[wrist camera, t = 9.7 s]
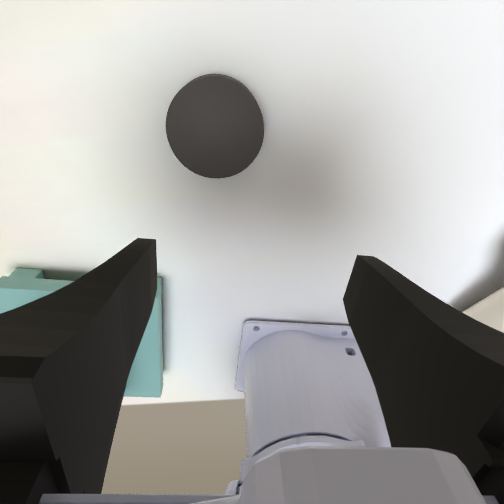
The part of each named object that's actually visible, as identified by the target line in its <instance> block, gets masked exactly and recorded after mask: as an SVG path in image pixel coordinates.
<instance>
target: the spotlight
mask: <svg viewBox="0 0 504 504" xmlns="http://www.w3.org/2000/svg"><path fill="white" fill-rule="evenodd" d="M462 313H464V314H466V315H468V316H470V317H472V318H473V319H475V320H477V321H479V322H481V323H483V324H486V325H488V326H490V327H492V328H494V329H496V330H499V331H501V332H503V333H504V287H503V288H501V289H499V290H498V291H496V292H494V293H493V294H491V295H489V296H488V297H486V298H484V299H483V300H481V301H479V302H478V303H476V304H474V305H473V306H471V307H469V308H468V309H466V310H464V311H463V312H462Z"/></svg>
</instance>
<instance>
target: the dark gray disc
mask: <svg viewBox="0 0 504 504" xmlns="http://www.w3.org/2000/svg"><path fill="white" fill-rule="evenodd" d="M166 133H167V138H168V141H169V144H170V147H171V149H172V151H173V153H174V154H175V156H176V157H177V158H178V160H179V161H180V162H181V163H182V164H183V165H184V166H185V167H187V168H188V169H189V170H191V171H193V172H194V173H196V174H199V175H201V176H204V177H209V178H226V177H230V176H233V175H236V174H238V173H240V172H241V171H243V170H244V169H246V168H247V167H248V166H249V165H250V164H251V163H252V162H253V161H254V159H255V158H256V156H257V155H258V153H259V150H260V148H261V145H262V142H263V136H264V123H263V118H262V114H261V111H260V109H259V106H258V104H257V102H256V100H255V98H254V96H253V95H252V93H251V92H250V91H249V90H248V89H247V88H246V87H245V86H244V85H243V84H242V83H240V82H239V81H237V80H235V79H233V78H231V77H228V76H225V75H220V74H209V75H204V76H200V77H198V78H196V79H194V80H192V81H191V82H189V83H188V84H187V85H185V86H184V87H183V88H182V89H181V90H180V91H179V92H178V93H177V94H176V96H175V97H174V98H173V100H172V102H171V104H170V106H169V109H168V112H167V118H166Z"/></svg>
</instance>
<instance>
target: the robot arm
mask: <svg viewBox="0 0 504 504" xmlns="http://www.w3.org/2000/svg"><path fill="white" fill-rule="evenodd" d="M156 291H157V258H156V240H155V239H142V238H137V239H136V240H134V241H133V242H132V243H130V244H129V245H128V246H126V247H125V248H124V249H122V250H121V251H120V252H118V253H117V254H115V255H114V256H113V257H111V258H110V259H108V260H107V261H106V262H104V263H103V264H101V265H100V266H98V267H97V268H95V269H93V270H92V271H90V272H89V273H87V274H86V275H84V276H82V277H81V278H79V279H77V280H76V281H74V282H72V283H70V284H68V285H66V286H64V287H62V288H60V289H58V290H56V291H55V292H53V293H50V294H48V295H46V296H44V297H41V298H39V299H36V300H34V301H32V302H29V303H27V304H25V305H22V306H20V307H17V308H15V309H12V310H9V311H6V312H4V313H1V314H0V504H504V333H503V332H501V331H499V330H496V329H494V328H492V327H490V326H488V325H486V324H483V323H481V322H479V321H477V320H475V319H473V318H472V317H470V316H468V315H466V314H464V313H462V312H460V311H458V310H456V309H455V308H453V307H451V306H449V305H448V304H446V303H444V302H443V301H441V300H439V299H438V298H436V297H435V296H433V295H431V294H430V293H428V292H427V291H425V290H424V289H422V288H421V287H419V286H418V285H416V284H415V283H413V282H412V281H410V280H409V279H407V278H406V277H404V276H403V275H402V274H400V273H399V272H397V271H396V270H394V269H393V268H391V267H390V266H388V265H387V264H385V263H384V262H382V261H381V260H379V259H377V258H375V257H373V256H361V255H357V257H356V260H355V264H354V267H353V270H352V273H351V276H350V279H349V282H348V285H347V289H346V292H345V295H344V298H343V302H344V306H345V310H346V314H347V318H348V322H349V325H350V326H341V325H323V324H305V323H288V322H270V321H252V320H250V321H246V322H245V323H244V325H243V331H242V338H241V346H240V353H239V360H238V367H237V374H236V381H235V389H236V390H237V391H240V392H245V414H246V443H247V459H244V460H241V461H240V480H236V481H231V482H230V483H229V485H228V487H227V490H226V491H225V493H224V494H223V495H222V494H220V495H219V494H213V495H212V494H205V495H204V494H101V491H102V487H103V482H104V477H105V472H106V468H107V463H108V458H109V454H110V449H111V445H112V441H113V436H114V432H115V428H116V424H117V420H118V415H119V411H120V407H121V403H122V399H123V395H124V391H125V388H126V384H127V380H128V376H129V373H130V370H131V367H132V364H133V361H134V359H135V356H136V353H137V351H138V348H139V345H140V343H141V340H142V337H143V335H144V332H145V329H146V327H147V324H148V321H149V318H150V316H151V313H152V309H153V305H154V301H155V296H156ZM255 326H258V327H257V328H255ZM343 331H345V332H343Z"/></svg>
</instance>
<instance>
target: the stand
mask: <svg viewBox="0 0 504 504" xmlns="http://www.w3.org/2000/svg"><path fill="white" fill-rule="evenodd" d="M72 282H74V281H69V280H53V279H44V275H43V271H42V269H27V268H17V269H16V270H15V271H14V272H13V273H12V274H11V275H10V276H9V277H6V276H2V277H1V278H0V314H1V313H4V312H6V311H9V310H12V309H15V308H17V307H20V306H22V305H25V304H27V303H29V302H32V301H34V300H36V299H39V298H41V297H44V296H46V295H48V294H50V293H53V292H55V291H56V290H58V289H60V288H62V287H64V286H66V285H68V284H70V283H72ZM161 297H162V278H161V277H157V291H156V296H155V301H154V305H153V309H152V313H151V316H150V318H149V321H148V324H147V327H146V329H145V332H144V335H143V337H142V340H141V343H140V345H139V348H138V351H137V353H136V356H135V359H134V361H133V364H132V367H131V370H130V373H129V376H128V380H127V384H126V385H127V387H126V390H125V394H124V396H130V397H161V393H162V388H163V352H162V306H161Z"/></svg>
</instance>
